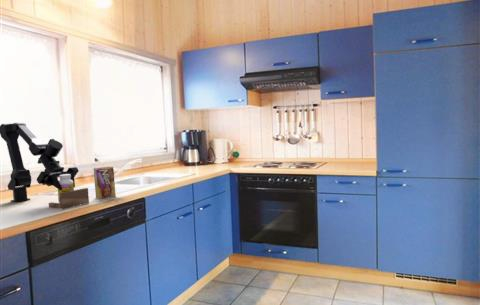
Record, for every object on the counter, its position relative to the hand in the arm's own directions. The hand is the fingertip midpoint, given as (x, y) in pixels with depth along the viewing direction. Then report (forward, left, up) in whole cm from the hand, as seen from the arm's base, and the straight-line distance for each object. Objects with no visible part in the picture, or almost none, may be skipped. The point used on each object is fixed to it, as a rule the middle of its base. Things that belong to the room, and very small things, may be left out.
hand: (67, 188), depth 168 cm
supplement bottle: (-1, 0, -7) cm, 7 cm away
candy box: (+2, +20, -8) cm, 22 cm away
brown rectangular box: (0, 0, -8) cm, 8 cm away
